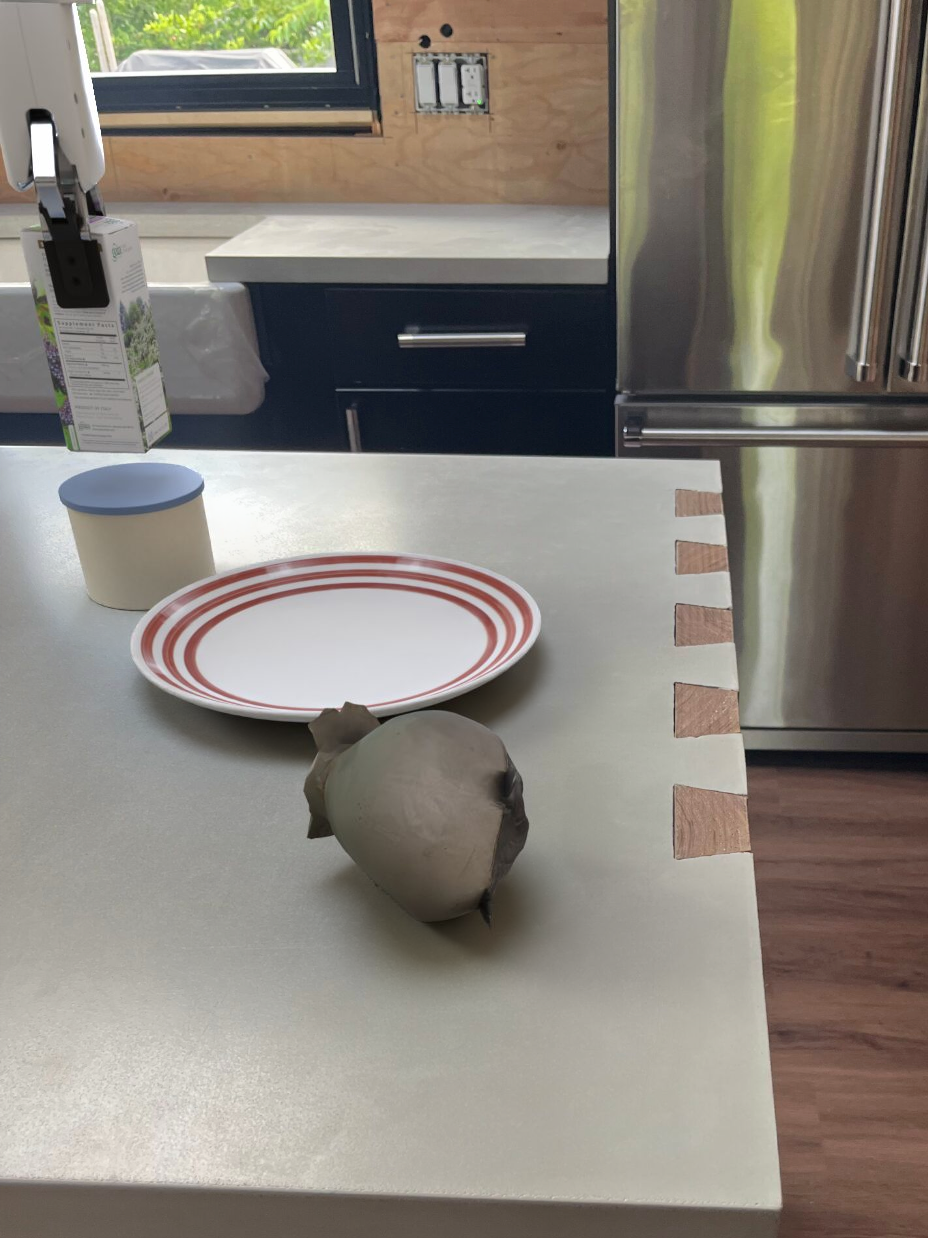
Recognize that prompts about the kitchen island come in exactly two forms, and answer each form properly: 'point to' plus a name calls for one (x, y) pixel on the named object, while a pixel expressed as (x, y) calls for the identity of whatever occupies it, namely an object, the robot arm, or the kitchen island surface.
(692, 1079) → the kitchen island surface
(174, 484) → the yogurt tub
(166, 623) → the dinner plate
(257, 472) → the kitchen island surface
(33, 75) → the robot arm
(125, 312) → the syrup box
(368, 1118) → the kitchen island surface
